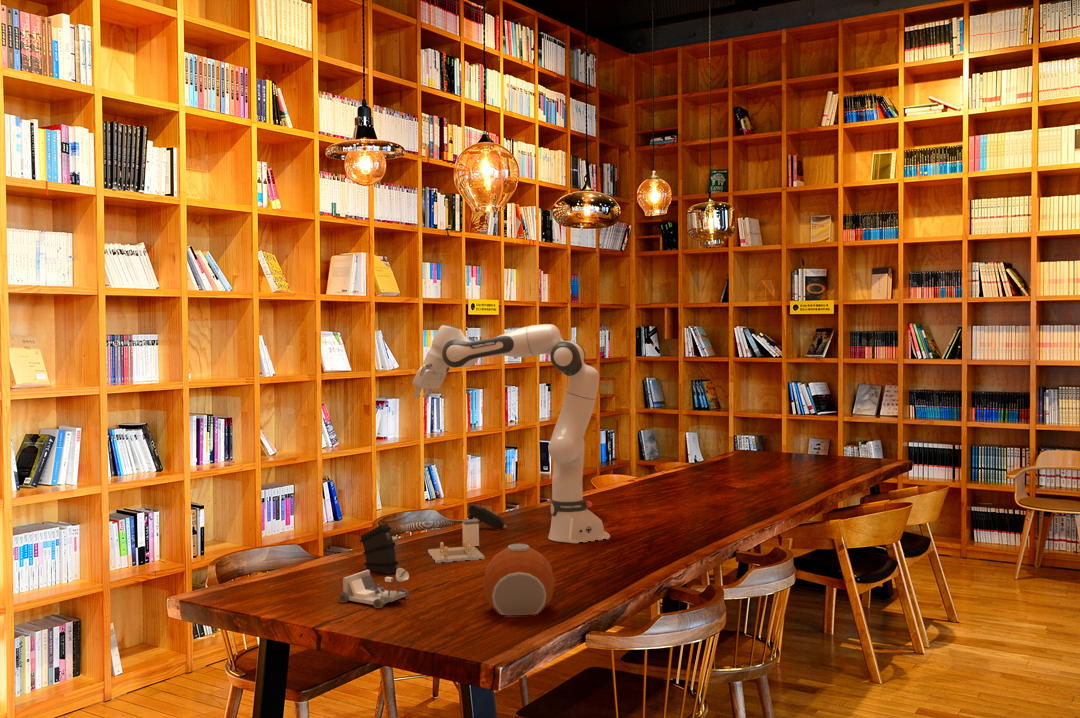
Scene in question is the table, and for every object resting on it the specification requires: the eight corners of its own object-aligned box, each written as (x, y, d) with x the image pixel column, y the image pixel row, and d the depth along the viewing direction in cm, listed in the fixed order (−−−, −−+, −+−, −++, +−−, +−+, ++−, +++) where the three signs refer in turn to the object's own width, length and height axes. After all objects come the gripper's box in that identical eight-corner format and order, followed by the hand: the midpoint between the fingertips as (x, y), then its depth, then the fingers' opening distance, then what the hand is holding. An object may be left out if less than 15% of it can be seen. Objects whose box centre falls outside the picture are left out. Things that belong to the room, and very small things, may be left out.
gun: (496, 544, 340) (508, 522, 339) (460, 524, 343) (471, 501, 342) (498, 543, 343) (510, 520, 342) (462, 522, 346) (473, 500, 345)
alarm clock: (553, 600, 246) (552, 537, 246) (556, 619, 229) (556, 552, 229) (484, 601, 246) (483, 538, 246) (482, 621, 228) (481, 553, 228)
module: (476, 544, 317) (476, 518, 317) (479, 546, 313) (478, 521, 313) (462, 545, 315) (462, 519, 315) (465, 547, 312) (464, 521, 311)
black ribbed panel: (396, 571, 273) (380, 525, 277) (369, 584, 280) (354, 538, 284) (404, 568, 276) (389, 522, 280) (378, 581, 283) (363, 536, 287)
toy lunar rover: (415, 566, 248) (388, 575, 238) (416, 601, 248) (389, 612, 238) (366, 558, 257) (338, 567, 247) (366, 592, 257) (338, 603, 247)
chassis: (473, 548, 309) (473, 537, 309) (484, 559, 294) (484, 547, 294) (428, 552, 305) (427, 540, 305) (436, 563, 290) (436, 550, 289)
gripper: (432, 367, 323) (416, 401, 324) (451, 368, 343) (437, 401, 344) (417, 359, 325) (402, 394, 326) (437, 362, 345) (423, 394, 346)
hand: (420, 398), depth 335 cm, fingers open, 8 cm apart
